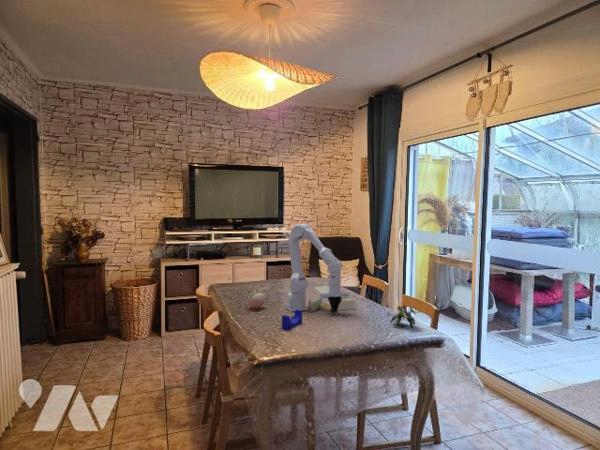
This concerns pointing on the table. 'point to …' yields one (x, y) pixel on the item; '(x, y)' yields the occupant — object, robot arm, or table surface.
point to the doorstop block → (326, 307)
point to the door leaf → (316, 304)
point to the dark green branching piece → (403, 314)
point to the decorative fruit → (256, 299)
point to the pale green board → (342, 304)
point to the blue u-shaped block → (292, 320)
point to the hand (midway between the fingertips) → (334, 311)
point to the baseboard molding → (324, 290)
